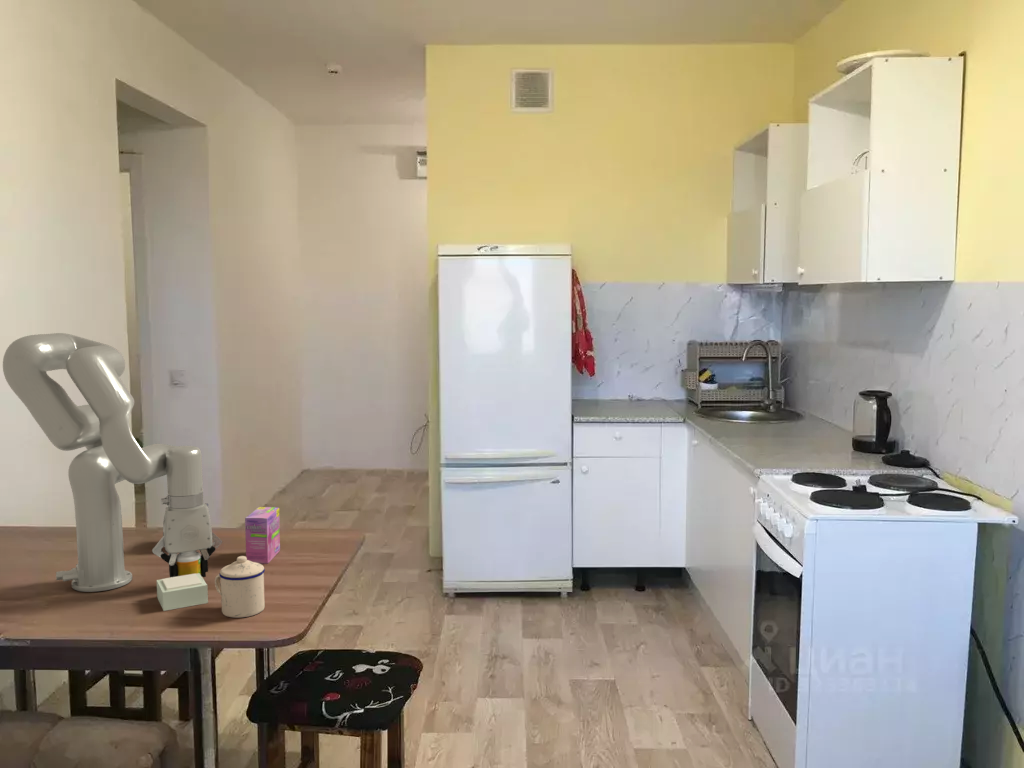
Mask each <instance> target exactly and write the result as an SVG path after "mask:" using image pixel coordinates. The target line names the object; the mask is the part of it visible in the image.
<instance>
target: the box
mask: <svg viewBox="0 0 1024 768" xmlns="http://www.w3.org/2000/svg"><path fill="white" fill-rule="evenodd" d="M244 530H245V531H244V533H245V534H244V535H245V557H246V558H247V560H249V561H252V562H256V563H259V564H261V565H268V564H270V562H271V561H272V560H273V559H274V558H275V557H276V556H277V555H278V553H279V552H280V551H281V542H280V541H281V538H280V535H281V534H280V507H276V506H274V507H273V506H267V507H266V506H259V507H257V508H255V510H253V511H252V512H251V513H250V514H248V515H247V516H246V517H245V518H244Z"/></svg>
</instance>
